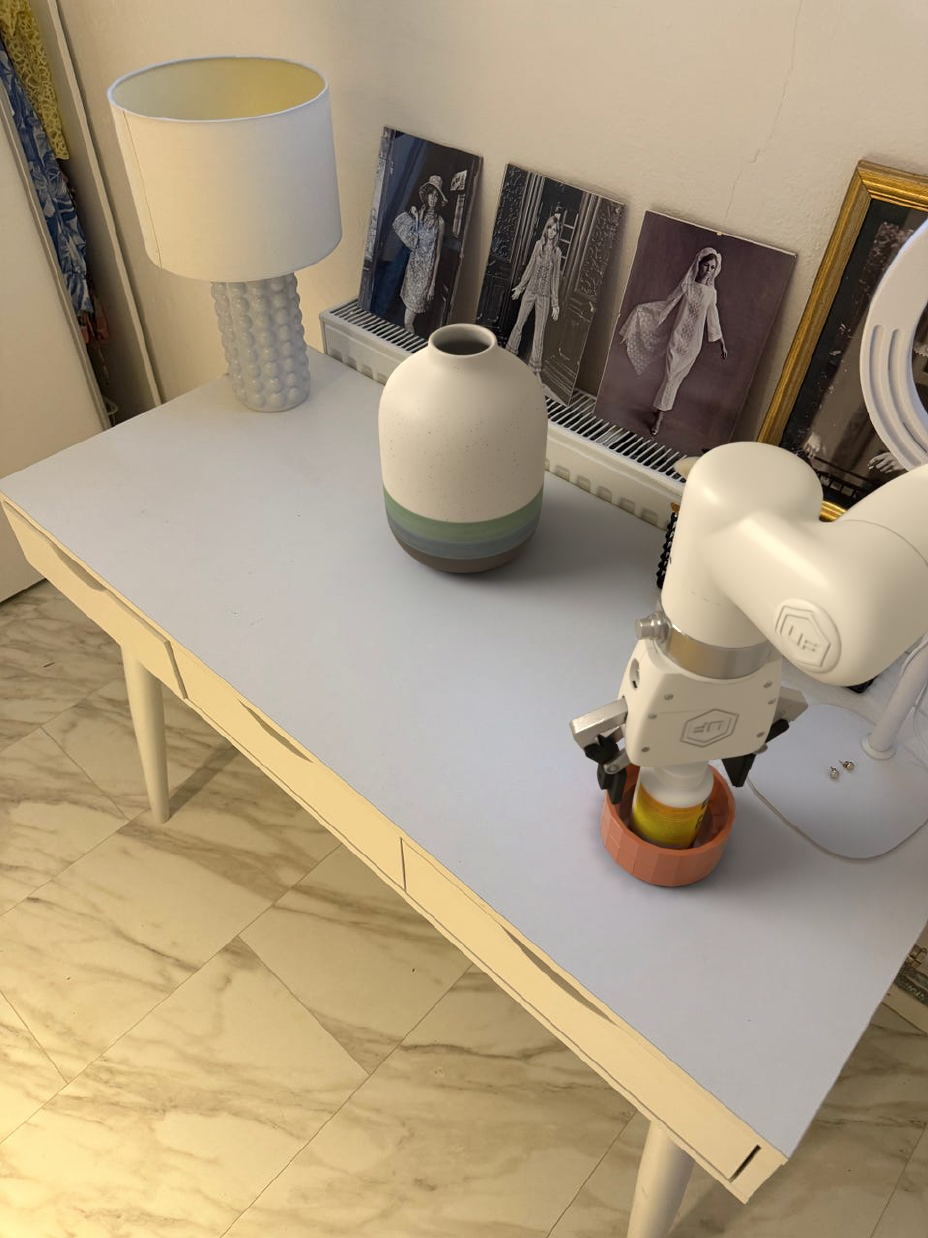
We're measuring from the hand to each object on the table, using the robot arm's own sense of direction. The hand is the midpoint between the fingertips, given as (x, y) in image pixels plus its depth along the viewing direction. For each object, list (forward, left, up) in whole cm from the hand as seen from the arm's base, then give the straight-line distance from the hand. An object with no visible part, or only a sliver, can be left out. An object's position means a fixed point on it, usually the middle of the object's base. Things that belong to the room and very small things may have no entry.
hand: (671, 780), depth 72 cm
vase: (+40, +10, -7) cm, 42 cm away
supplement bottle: (0, 0, -7) cm, 7 cm away
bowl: (0, 0, -7) cm, 7 cm away
